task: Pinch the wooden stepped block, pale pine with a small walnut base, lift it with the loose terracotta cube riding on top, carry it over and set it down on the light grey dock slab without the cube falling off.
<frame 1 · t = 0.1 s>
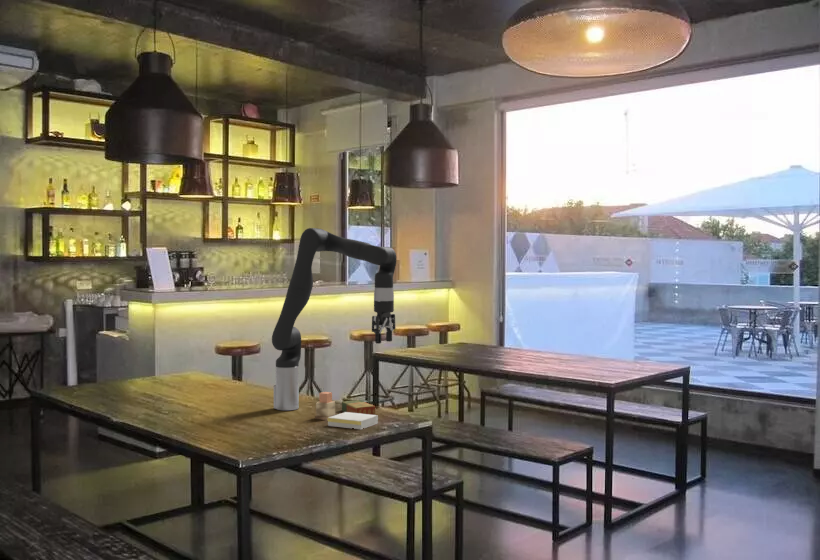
hand: (383, 342, 293), 29 cm above the table, fingers open, 8 cm apart
dock: (353, 424, 283), on the table
wooden stepped block: (325, 418, 296), on the table
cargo: (325, 401, 295), point 6 cm above the table
carton: (358, 414, 305), on the table
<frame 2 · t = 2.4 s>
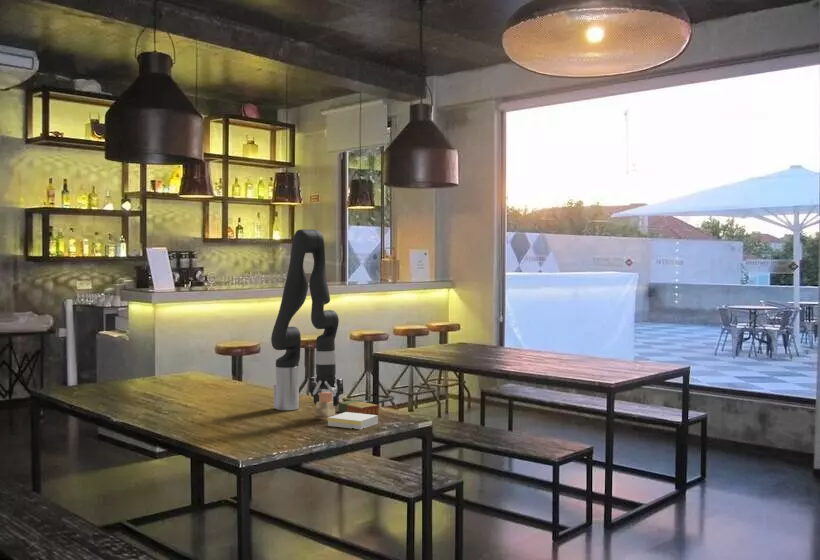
hand: (326, 405, 295), 5 cm above the table, fingers open, 8 cm apart
wooden stepped block: (325, 418, 295), on the table, touching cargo
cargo: (325, 401, 295), point 6 cm above the table, touching wooden stepped block
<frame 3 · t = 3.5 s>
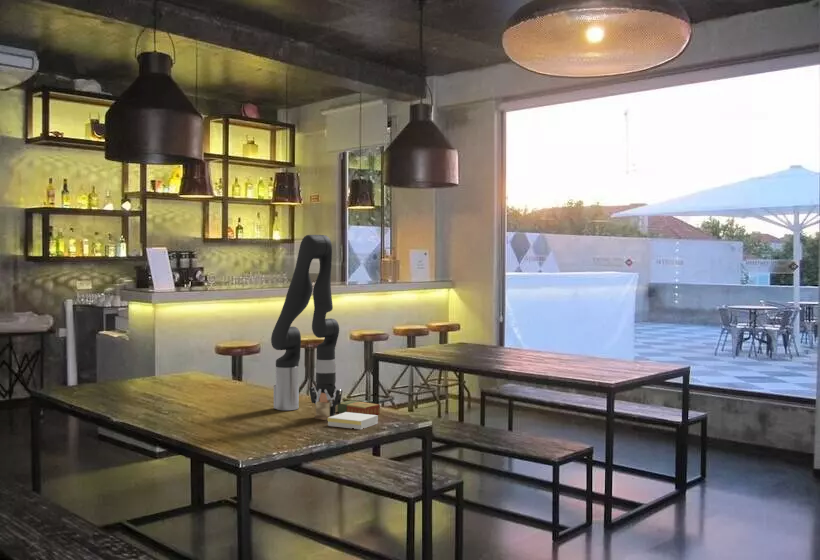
hand: (325, 415, 295), 1 cm above the table, fingers closed on wooden stepped block, 5 cm apart
wooden stepped block: (325, 417, 295), on the table, touching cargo, gripper
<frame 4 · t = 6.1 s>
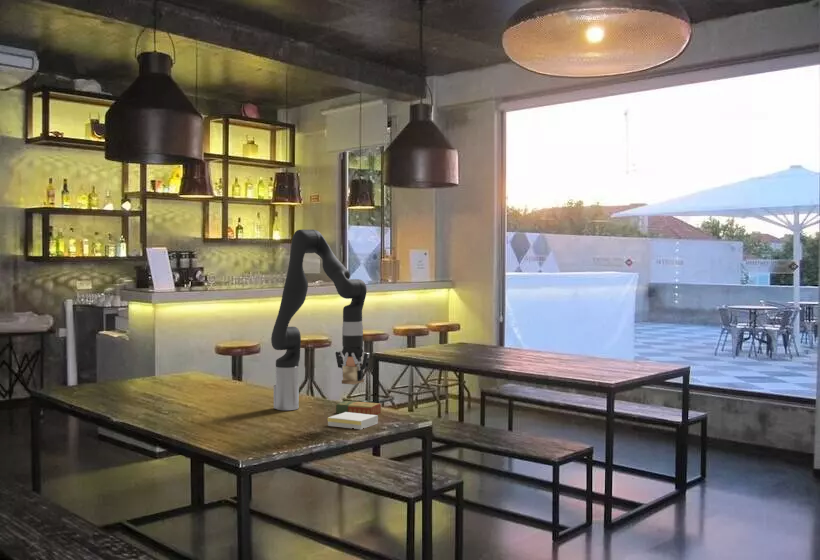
hand: (352, 379, 283), 16 cm above the table, fingers closed on wooden stepped block, 5 cm apart
wooden stepped block: (352, 382, 283), point 15 cm above the table, touching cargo, gripper
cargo: (353, 365, 283), point 22 cm above the table, touching wooden stepped block
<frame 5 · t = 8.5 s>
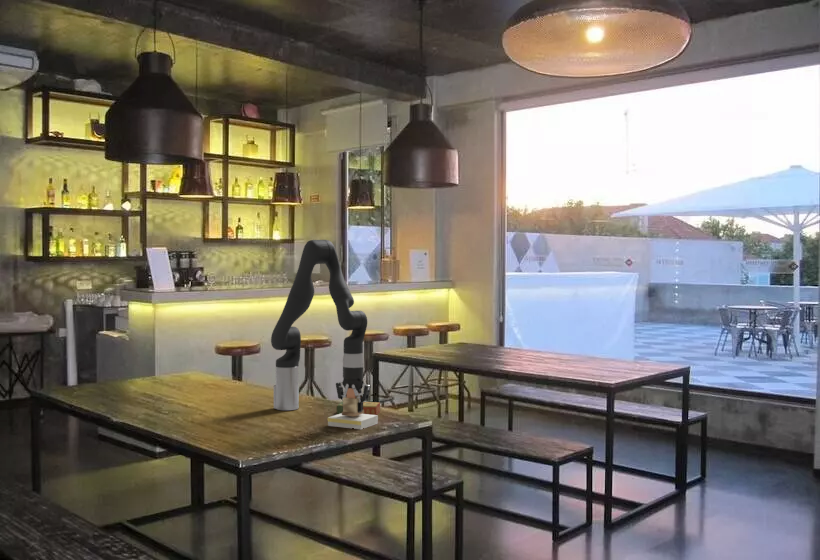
hand: (353, 411, 283), 5 cm above the table, fingers closed on wooden stepped block, 5 cm apart
wooden stepped block: (352, 414, 283), point 4 cm above the table, touching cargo, gripper
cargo: (353, 397, 283), point 10 cm above the table, touching wooden stepped block
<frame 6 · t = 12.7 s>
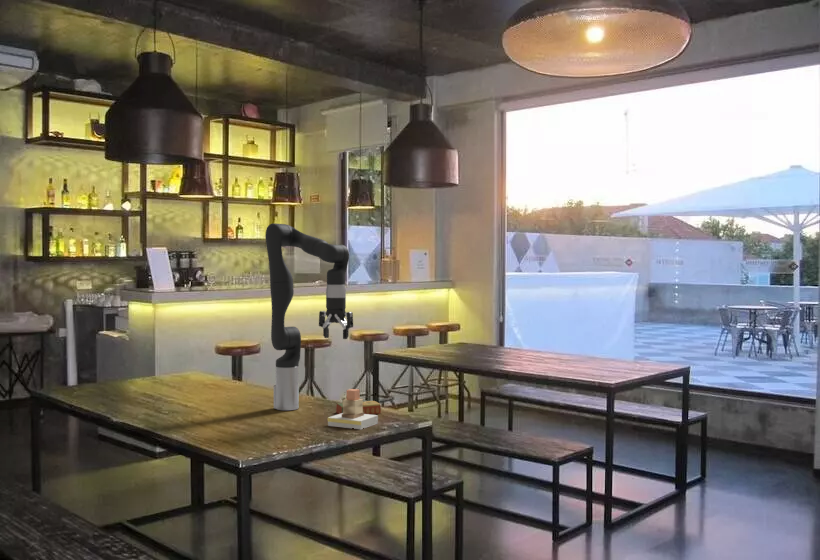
hand: (335, 338, 298), 30 cm above the table, fingers open, 8 cm apart
wooden stepped block: (352, 416, 283), point 3 cm above the table, touching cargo, dock
at the end: wooden stepped block inside the target area on the dock (0.2 cm from its centre), point 3.0 cm above the dock's base; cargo 0.2 cm off-centre on the wooden stepped block, point 6.2 cm above the wooden stepped block's base; wooden stepped block tilted 0° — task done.
